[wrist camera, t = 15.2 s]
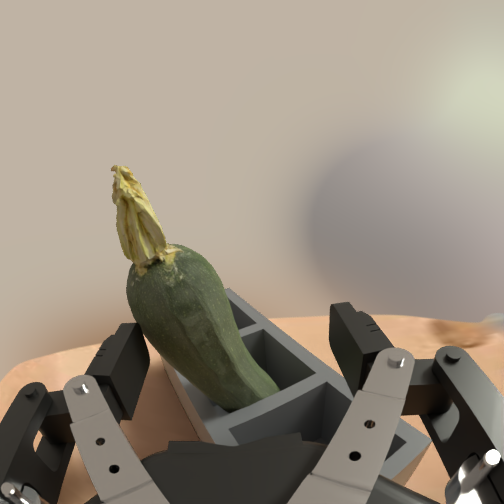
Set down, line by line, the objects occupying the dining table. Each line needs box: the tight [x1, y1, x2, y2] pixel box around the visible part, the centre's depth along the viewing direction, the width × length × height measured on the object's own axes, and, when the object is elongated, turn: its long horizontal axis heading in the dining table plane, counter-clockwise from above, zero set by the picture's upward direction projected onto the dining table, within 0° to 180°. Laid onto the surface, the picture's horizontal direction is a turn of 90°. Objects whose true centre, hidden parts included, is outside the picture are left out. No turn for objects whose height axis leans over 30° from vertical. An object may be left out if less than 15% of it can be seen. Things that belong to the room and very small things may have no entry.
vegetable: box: [111, 165, 281, 414], centre depth 15 cm, size 4×4×20 cm
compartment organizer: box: [160, 288, 432, 486], centre depth 20 cm, size 24×8×7 cm, turn 29°
